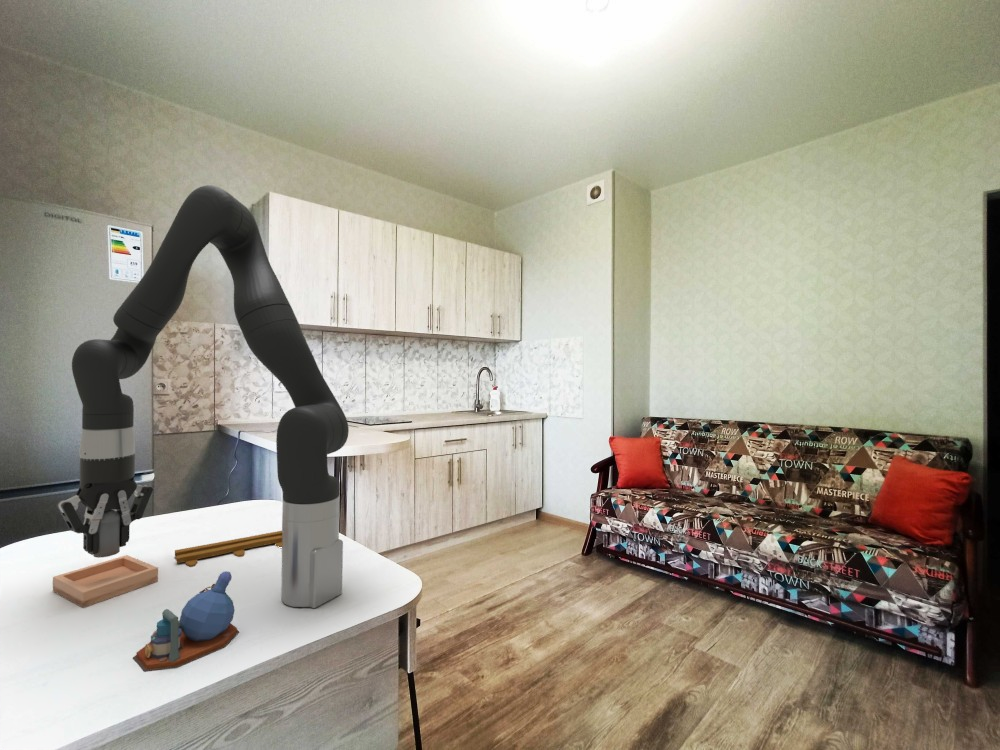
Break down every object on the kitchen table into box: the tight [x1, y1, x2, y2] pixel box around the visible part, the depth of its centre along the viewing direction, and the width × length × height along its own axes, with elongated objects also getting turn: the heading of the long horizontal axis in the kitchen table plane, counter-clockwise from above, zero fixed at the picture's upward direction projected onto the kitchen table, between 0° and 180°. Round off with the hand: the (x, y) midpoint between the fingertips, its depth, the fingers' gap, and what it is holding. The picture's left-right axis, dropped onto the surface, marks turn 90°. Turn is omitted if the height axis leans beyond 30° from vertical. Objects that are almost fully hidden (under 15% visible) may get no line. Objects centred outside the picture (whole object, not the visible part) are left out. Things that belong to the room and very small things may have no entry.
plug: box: [92, 509, 121, 558], centre depth 84 cm, size 4×4×8 cm
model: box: [132, 571, 240, 673], centre depth 68 cm, size 12×9×9 cm
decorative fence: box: [174, 530, 282, 568], centre depth 104 cm, size 25×2×10 cm
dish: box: [52, 554, 159, 608], centre depth 84 cm, size 11×11×2 cm
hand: (107, 548), depth 85 cm, fingers closed on plug, 3 cm apart
